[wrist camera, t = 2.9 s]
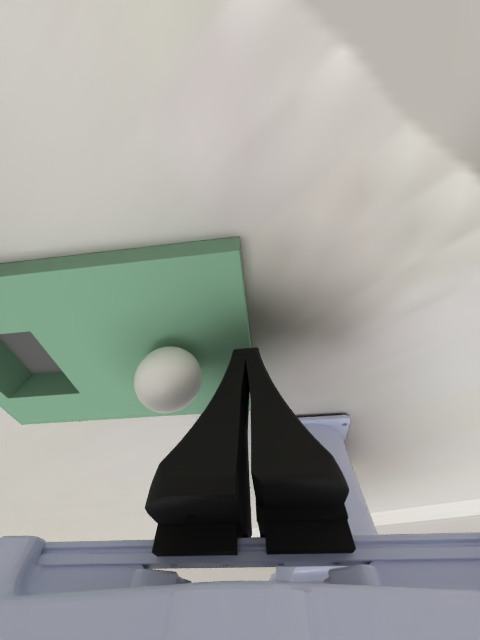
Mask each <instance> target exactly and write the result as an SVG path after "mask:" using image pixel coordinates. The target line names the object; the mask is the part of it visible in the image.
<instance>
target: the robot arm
mask: <svg viewBox="0 0 480 640" xmlns="http://www.w3.org/2000/svg"><path fill="white" fill-rule="evenodd" d="M249 393H250V397H251V474H252V479H253V485H254V491H255V496H256V515H257V522H258V525H259V531H260V537H257V538H250V537H251V536H252V525H251V506H250V484H249V461H248V414H249ZM350 422H351V419H350V417H349V416H348V415H335V416H318V417H301V418H297V416H296V415H295V414H294V413H293V412H292V410H291V409H290V408H289V406H288V405H287V404H286V402H285V401H284V399H283V398H282V396H281V395H280V393H279V392H278V390H277V389H276V387H275V385H274V384H273V382H272V380H271V378H270V376H269V374H268V373H267V371H266V369H265V366H264V364H263V362H262V359H261V356H260V353H259V349H258V348H257V347H256V348H244V349H234V350H233V353H232V356H231V359H230V362H229V365H228V367H227V370H226V372H225V374H224V376H223V379H222V381H221V383H220V385H219V386H218V388H217V390H216V392H215V394H214V396H213V397H212V399H211V401H210V402H209V404H208V405H207V407H206V409H205V410H204V411H203V413H202V414H201V416H200V417H199V419H198V420H197V421H196V423H195V424H194V425H193V427H192V428H191V429H190V430H189V431H188V433H187V434H186V435H185V436H184V438H183V439H182V440H181V441H180V442H179V443H178V445H177V446H176V447H175V448H174V449H173V450H172V451H171V452H170V453H169V454H168V455H167V456H166V457H165V458H164V460H163V461H162V462H161V463H160V464H159V466H158V469H157V471H156V473H155V476H154V479H153V481H152V484H151V487H150V490H149V494H148V498H147V501H146V505H145V509H146V511H147V513H148V514H149V515H150V516H151V517H152V518H153V519H154V520H155V521H156V522H157V523H158V526H157V531H156V535H155V539H154V540H123V541H79V542H46V541H45V540H43V539H41V538H39V537H35V536H4V537H2V538H0V640H480V533H435V534H391V535H378V534H377V531H376V529H375V526H374V523H373V521H372V518H371V515H370V512H369V510H368V507H367V504H366V502H365V499H364V496H363V494H362V491H361V488H360V486H359V483H358V480H357V478H356V475H355V472H354V469H353V467H352V464H351V461H350V459H349V456H348V453H347V451H346V448H345V445H344V442H345V439H346V435H347V432H348V428H349V425H350ZM227 567H228V568H229V567H230V568H233V567H234V568H235V567H276V573H274V574H273V575H272V576H271V578H270V580H269V581H220V582H199V583H192V582H191V581H188V580H185V579H182V578H181V577H179V576H178V575H177V573H176V572H173V571H162V570H153V569H159V568H227Z"/></svg>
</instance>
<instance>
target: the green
mask: <svg viewBox="0 0 480 640" xmlns="http://www.w3.org/2000/svg"><path fill="white" fill-rule="evenodd" d="M169 346H172V347H179V348H182V349H184V350H186V351H188V352H189V353H191V354H192V355H193V356H194V357H195V359H196V360H197V361H198V363H199V365H200V368H201V373H202V381H201V386H200V389H199V392H198V394H197V395H196V397H195V398H194V400H193V401H192V402H191V403H190V404H189V405H187V406H186V407H185V408H183V409H181V410H179V411H176V412H173V413H158V412H154V411H152V410H150V409H148V408H147V407H145V406H144V405H143V404H142V403H141V402H140V400H139V399H138V397H137V395H136V392H135V389H134V376H135V372H136V370H137V367H138V366H139V364H140V362H141V361H142V360H143V359H144V358H145V357H146V356H147V355H148V354H149V353H151V352H152V351H154V350H156V349H159V348H162V347H169ZM244 348H251V338H250V329H249V320H248V311H247V302H246V292H245V283H244V274H243V265H242V255H241V246H240V237H230V238H221V239H213V240H204V241H195V242H186V243H178V244H169V245H160V246H151V247H142V248H134V249H125V250H116V251H107V252H99V253H90V254H81V255H72V256H63V257H55V258H46V259H37V260H28V261H20V262H11V263H2V264H0V407H1V408H3V409H4V410H5V411H6V412H7V413H8V414H10V415H11V416H12V417H13V418H14V419H16V420H17V421H18V422H19V423H20V424H21V425H23V424H39V423H56V422H72V421H88V420H105V419H121V418H137V417H153V416H170V415H186V414H202V413H203V411H204V410H205V409H206V407H207V405H208V404H209V402H210V401H211V399H212V397H213V396H214V394H215V392H216V390H217V388H218V386H219V385H220V383H221V381H222V379H223V376H224V374H225V372H226V370H227V367H228V365H229V362H230V359H231V356H232V353H233V350H234V349H244ZM249 411H251V397H250V393H249Z"/></svg>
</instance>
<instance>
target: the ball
mask: <svg viewBox="0 0 480 640" xmlns="http://www.w3.org/2000/svg"><path fill="white" fill-rule="evenodd" d="M201 381H202V373H201V368H200V365H199V363H198V361H197V360H196V359H195V357H194V356H193V355H192V354H191V353H189V352H188V351H186V350H184V349H182V348H179V347H172V346H169V347H162V348H159V349H156V350H154V351H152V352H151V353H149V354H148V355H147V356H146V357H145V358H144V359H143V360H142V361H141V362H140V364H139V366H138V367H137V370H136V372H135V376H134V389H135V392H136V395H137V397H138V399H139V400H140V402H141V403H142V404H143V405H144V406H145V407H147V408H148V409H150V410H152V411H154V412H158V413H173V412H176V411H179V410H181V409H183V408H185V407H186V406H187V405H189V404H190V403H191V402H192V401H193V400H194V398H195V397H196V395H197V394H198V392H199V389H200V386H201Z"/></svg>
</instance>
